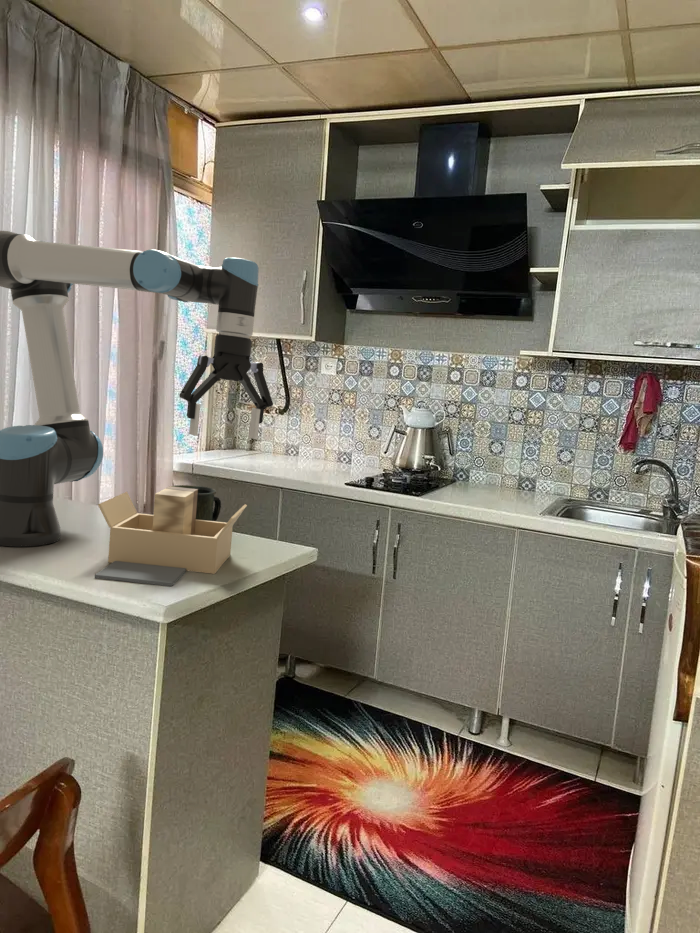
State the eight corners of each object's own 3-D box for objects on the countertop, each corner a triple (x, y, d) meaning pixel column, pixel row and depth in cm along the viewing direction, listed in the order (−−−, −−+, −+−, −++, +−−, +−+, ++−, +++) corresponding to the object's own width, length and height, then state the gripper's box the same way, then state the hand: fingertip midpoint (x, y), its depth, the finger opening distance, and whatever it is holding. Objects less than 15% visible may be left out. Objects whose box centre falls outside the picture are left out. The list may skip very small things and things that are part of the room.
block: (150, 563, 141) (154, 493, 139) (164, 551, 151) (169, 486, 149) (180, 566, 141) (185, 496, 139) (193, 554, 151) (197, 489, 149)
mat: (94, 577, 128) (95, 574, 128) (114, 563, 138) (115, 560, 138) (171, 586, 128) (171, 582, 128) (186, 571, 138) (186, 568, 138)
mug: (152, 539, 160) (155, 486, 158) (200, 531, 172) (204, 482, 170) (184, 549, 154) (188, 495, 152) (232, 541, 165) (237, 490, 164)
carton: (94, 560, 139) (97, 503, 137) (121, 543, 153) (124, 491, 152) (228, 575, 138) (233, 517, 137) (242, 556, 153) (247, 504, 151)
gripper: (182, 327, 137) (172, 435, 140) (295, 343, 151) (284, 442, 154) (169, 326, 144) (160, 430, 146) (278, 342, 158) (268, 437, 160)
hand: (223, 436), depth 150 cm, fingers open, 13 cm apart
